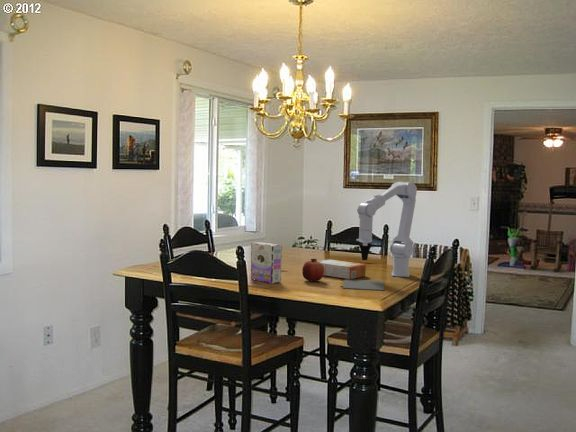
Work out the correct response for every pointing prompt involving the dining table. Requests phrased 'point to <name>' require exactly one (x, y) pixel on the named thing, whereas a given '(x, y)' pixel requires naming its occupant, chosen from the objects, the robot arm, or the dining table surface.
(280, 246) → the candy box
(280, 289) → the dining table surface
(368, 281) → the mat
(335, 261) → the cracker box
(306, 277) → the fruit
